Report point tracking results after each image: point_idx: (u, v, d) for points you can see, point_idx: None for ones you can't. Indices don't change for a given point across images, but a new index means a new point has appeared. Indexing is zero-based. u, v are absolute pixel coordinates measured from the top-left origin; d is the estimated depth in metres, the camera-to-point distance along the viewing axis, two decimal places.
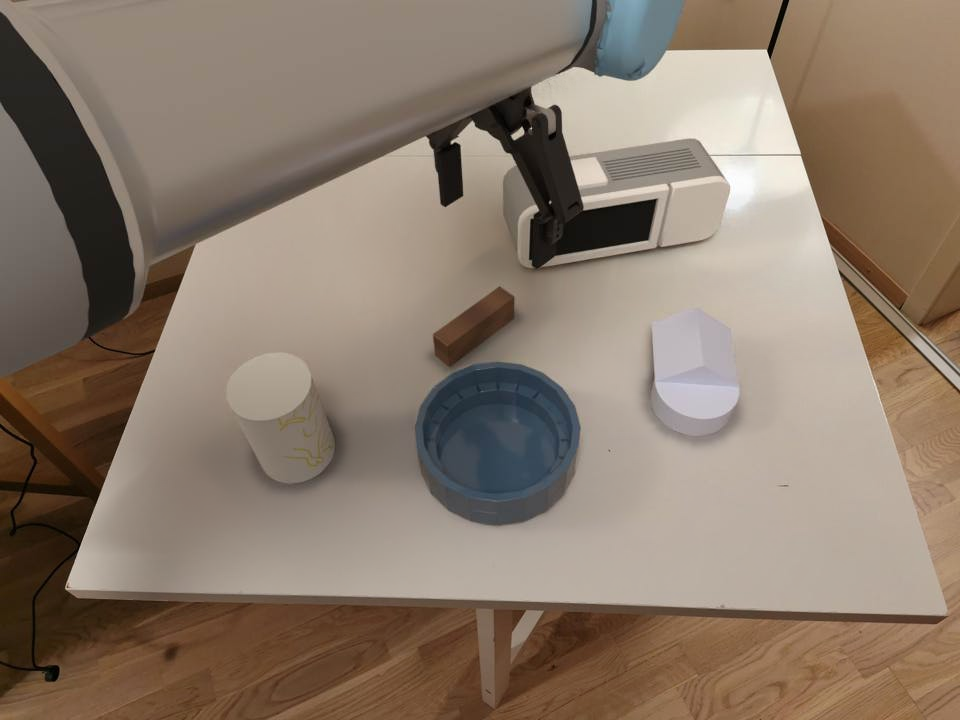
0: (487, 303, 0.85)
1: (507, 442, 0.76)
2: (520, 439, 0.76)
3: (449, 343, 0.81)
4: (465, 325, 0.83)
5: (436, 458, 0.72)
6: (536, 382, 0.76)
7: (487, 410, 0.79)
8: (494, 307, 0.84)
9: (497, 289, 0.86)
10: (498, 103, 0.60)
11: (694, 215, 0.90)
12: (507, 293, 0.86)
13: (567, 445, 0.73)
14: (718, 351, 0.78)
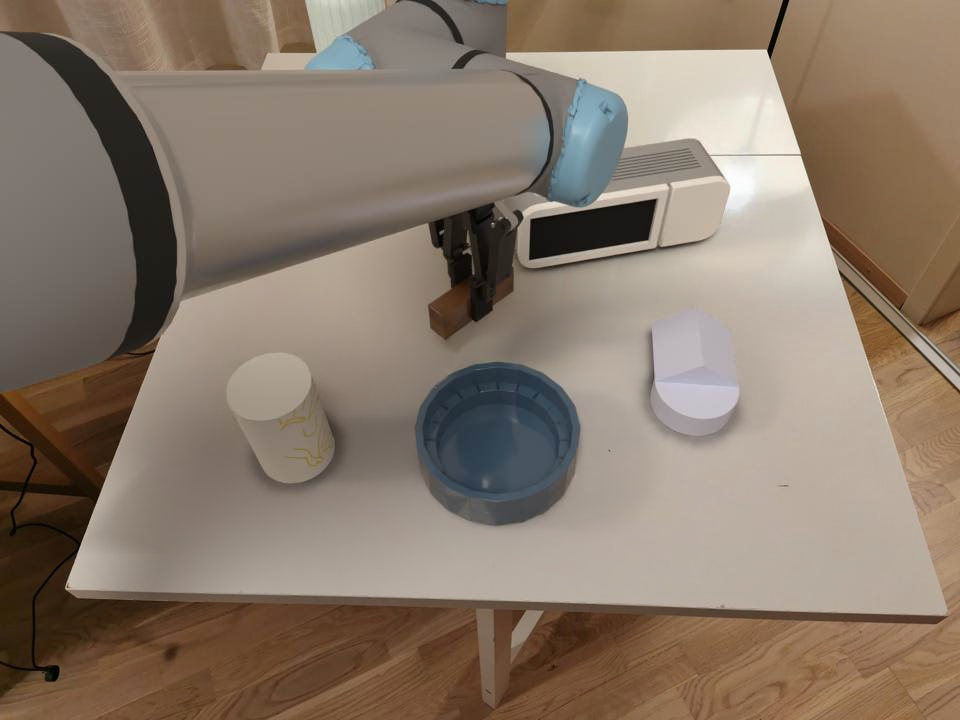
0: None
1: (507, 442, 0.76)
2: (520, 439, 0.76)
3: (445, 313, 0.77)
4: (462, 296, 0.78)
5: (436, 458, 0.72)
6: (536, 382, 0.76)
7: (487, 410, 0.79)
8: None
9: None
10: None
11: (694, 215, 0.90)
12: None
13: (567, 445, 0.73)
14: (718, 351, 0.78)
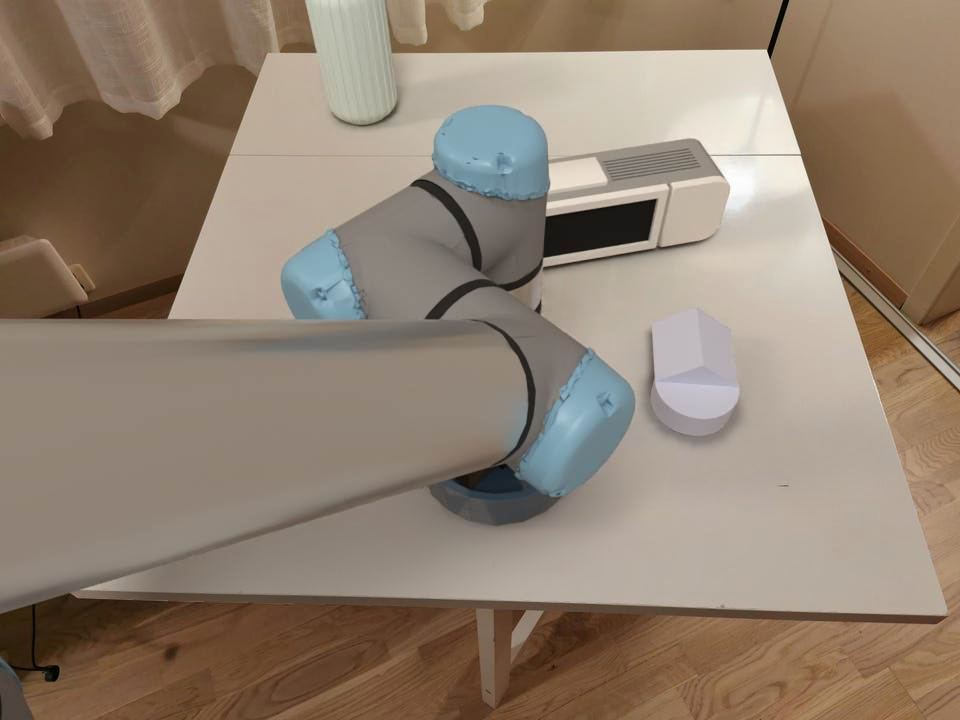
0: None
1: None
2: None
3: None
4: None
5: None
6: None
7: None
8: None
9: None
10: None
11: (694, 215, 0.90)
12: None
13: None
14: (718, 351, 0.78)
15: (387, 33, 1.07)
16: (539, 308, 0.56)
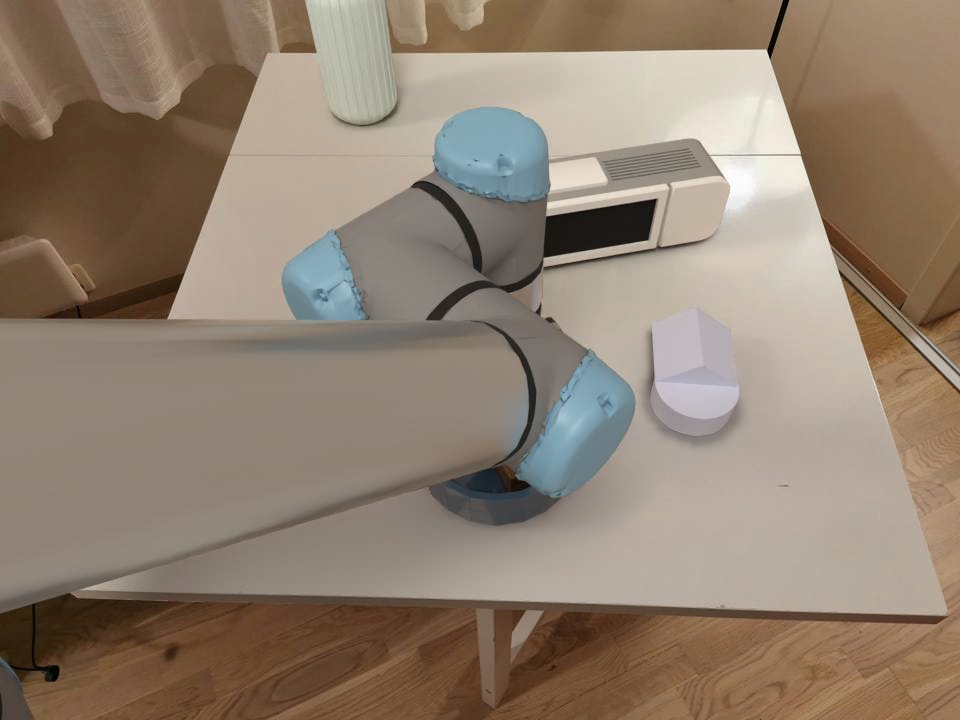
0: None
1: None
2: None
3: None
4: None
5: None
6: None
7: None
8: None
9: None
10: None
11: (694, 215, 0.90)
12: None
13: None
14: (718, 351, 0.78)
15: (387, 33, 1.07)
16: None
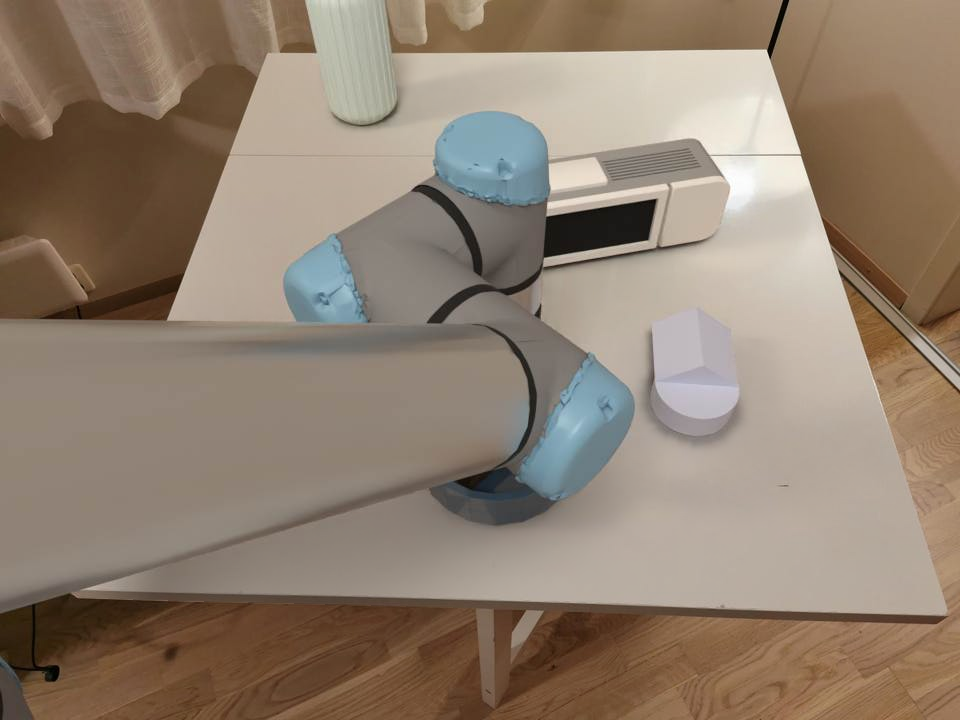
0: None
1: None
2: None
3: None
4: None
5: None
6: None
7: None
8: None
9: None
10: None
11: (694, 215, 0.90)
12: None
13: None
14: (718, 351, 0.78)
15: (387, 33, 1.07)
16: (539, 312, 0.57)
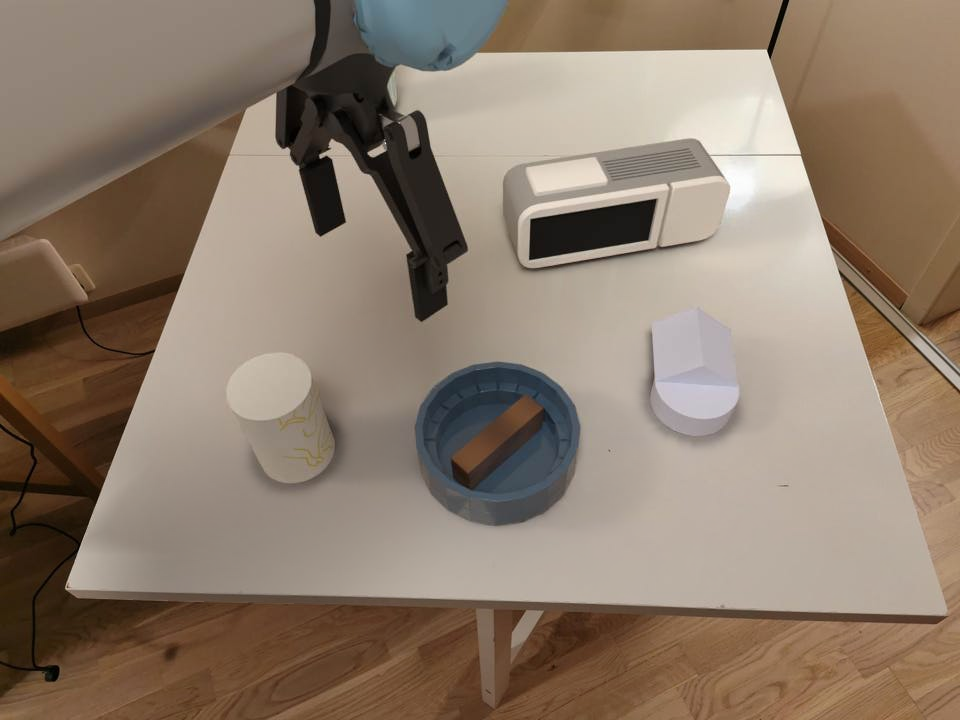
0: (512, 416, 0.73)
1: None
2: None
3: (470, 469, 0.70)
4: (488, 446, 0.71)
5: (436, 458, 0.72)
6: (536, 382, 0.76)
7: (487, 410, 0.79)
8: (520, 422, 0.73)
9: (523, 398, 0.75)
10: (345, 106, 0.44)
11: (694, 215, 0.90)
12: (535, 403, 0.74)
13: (567, 445, 0.73)
14: (718, 351, 0.78)
15: None
16: None
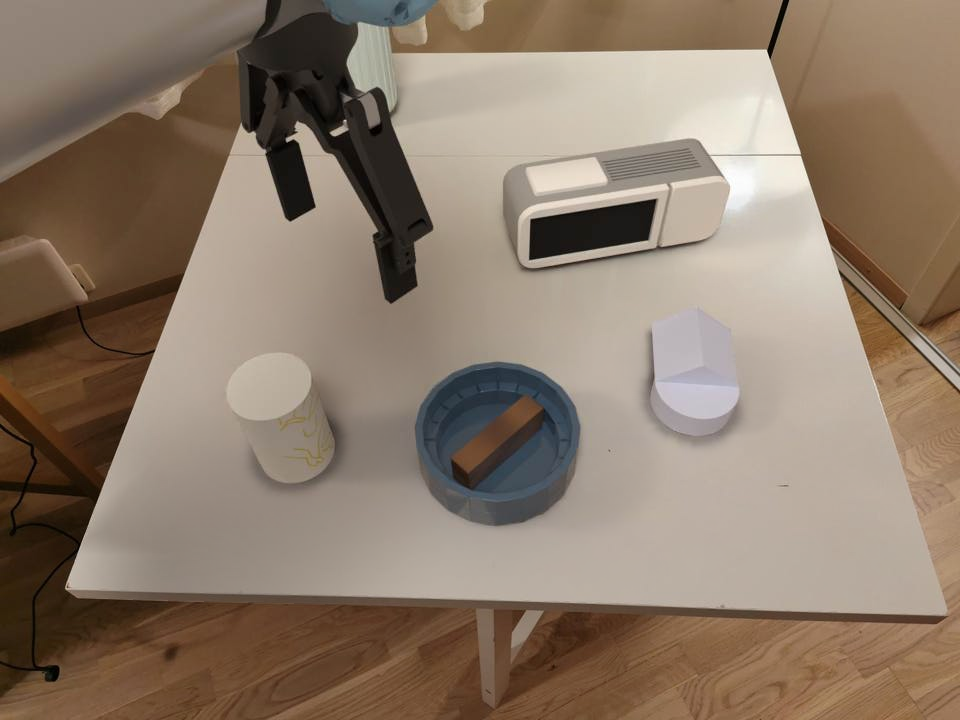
0: (512, 416, 0.73)
1: None
2: None
3: (470, 469, 0.70)
4: (488, 446, 0.71)
5: (436, 458, 0.72)
6: (536, 382, 0.76)
7: (487, 410, 0.79)
8: (520, 422, 0.73)
9: (523, 398, 0.75)
10: (306, 85, 0.44)
11: (694, 215, 0.90)
12: (535, 403, 0.74)
13: (567, 445, 0.73)
14: (718, 351, 0.78)
15: (387, 33, 1.07)
16: None
